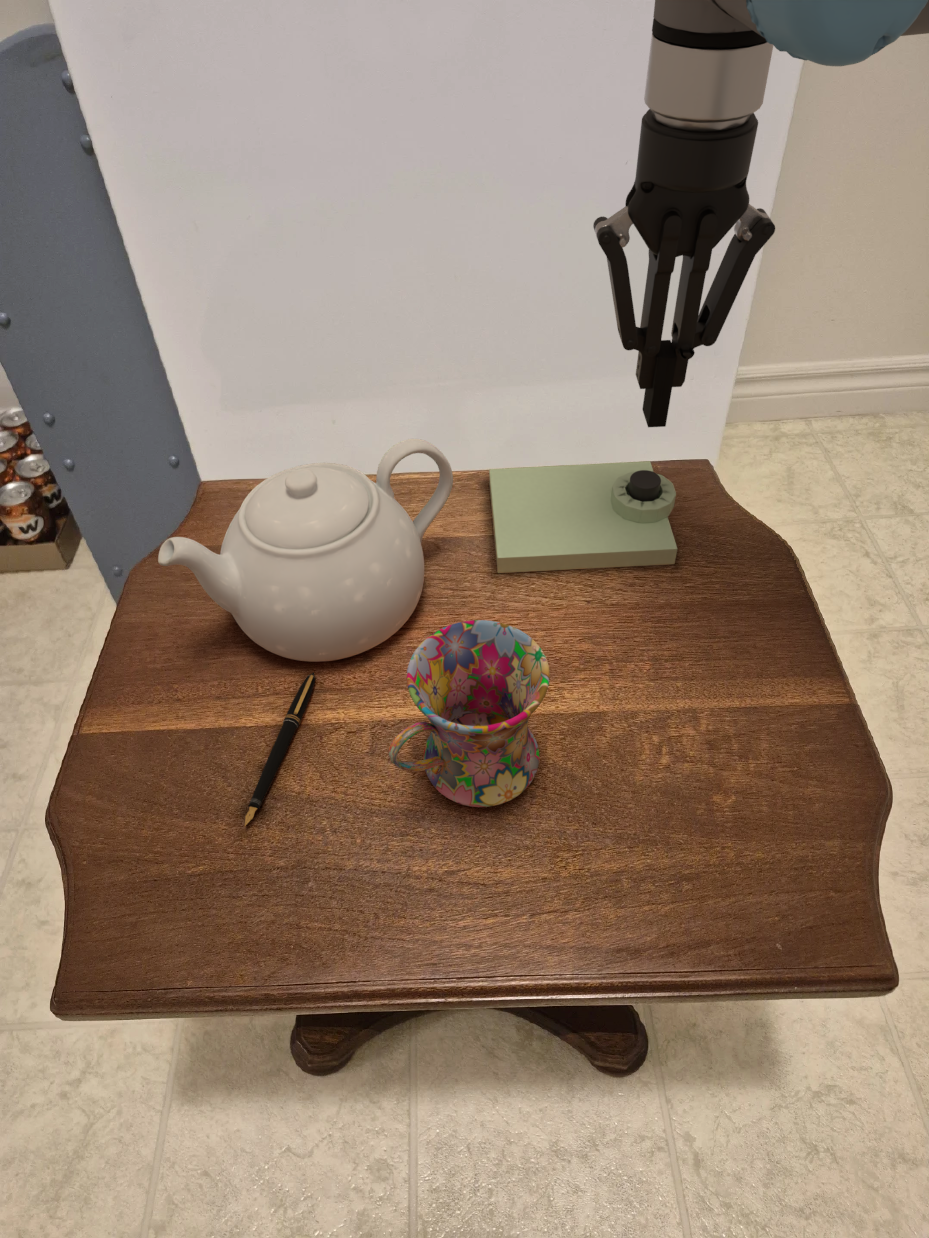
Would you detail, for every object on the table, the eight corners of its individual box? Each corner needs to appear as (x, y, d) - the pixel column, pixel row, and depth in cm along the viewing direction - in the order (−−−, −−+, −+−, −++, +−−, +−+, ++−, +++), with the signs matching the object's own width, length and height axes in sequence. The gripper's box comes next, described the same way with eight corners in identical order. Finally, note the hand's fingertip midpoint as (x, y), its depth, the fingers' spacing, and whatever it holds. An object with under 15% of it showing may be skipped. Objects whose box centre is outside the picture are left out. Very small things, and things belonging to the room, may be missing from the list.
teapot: (403, 694, 67) (386, 570, 57) (192, 658, 70) (140, 535, 61) (459, 541, 79) (452, 416, 69) (276, 516, 83) (245, 395, 73)
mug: (488, 692, 67) (486, 599, 59) (570, 768, 62) (579, 676, 54) (364, 777, 62) (343, 687, 54) (442, 867, 57) (432, 781, 49)
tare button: (655, 482, 79) (657, 469, 78) (661, 501, 77) (663, 487, 76) (625, 484, 79) (627, 470, 78) (631, 502, 77) (632, 489, 76)
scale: (656, 475, 85) (661, 446, 83) (683, 563, 76) (690, 534, 74) (489, 484, 85) (488, 455, 83) (497, 573, 76) (497, 544, 74)
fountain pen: (254, 834, 59) (249, 823, 58) (238, 831, 59) (233, 820, 58) (322, 678, 69) (319, 666, 68) (308, 675, 69) (305, 663, 68)
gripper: (783, 88, 58) (718, 390, 75) (593, 97, 58) (572, 397, 75) (818, 125, 53) (740, 439, 70) (610, 135, 53) (583, 447, 70)
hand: (653, 417), depth 73 cm, fingers closed
